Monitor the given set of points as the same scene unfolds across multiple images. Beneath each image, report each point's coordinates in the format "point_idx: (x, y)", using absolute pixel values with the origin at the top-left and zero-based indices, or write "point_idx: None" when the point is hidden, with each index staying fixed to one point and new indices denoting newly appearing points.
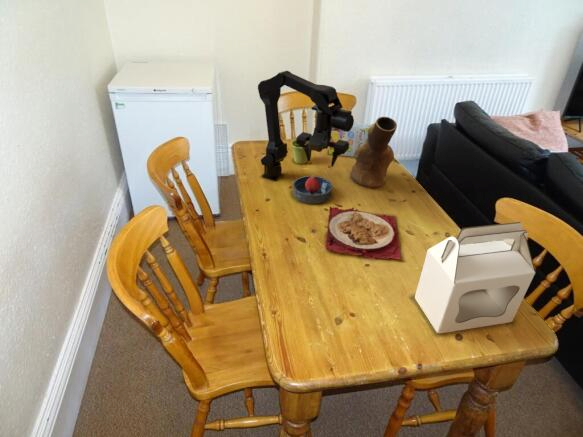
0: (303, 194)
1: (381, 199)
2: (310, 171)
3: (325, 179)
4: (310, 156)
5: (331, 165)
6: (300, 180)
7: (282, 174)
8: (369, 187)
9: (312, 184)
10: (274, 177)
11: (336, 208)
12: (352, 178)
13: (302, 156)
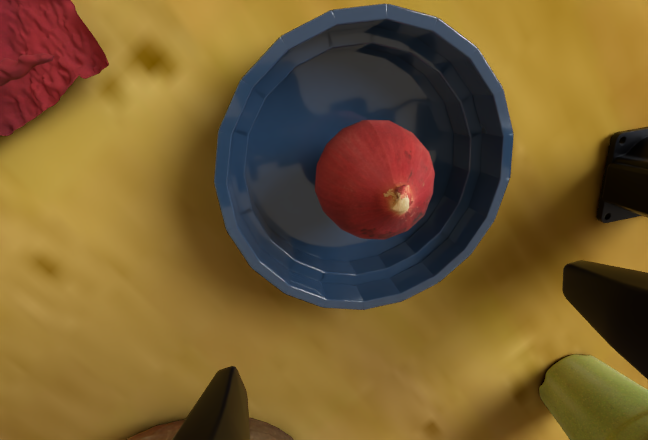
0: (353, 7)
1: (8, 397)
2: (486, 344)
3: (348, 305)
4: (626, 338)
5: (224, 384)
6: (482, 195)
7: (600, 217)
8: (139, 433)
9: (359, 145)
10: (630, 153)
11: (67, 86)
12: (266, 432)
13: (590, 398)
